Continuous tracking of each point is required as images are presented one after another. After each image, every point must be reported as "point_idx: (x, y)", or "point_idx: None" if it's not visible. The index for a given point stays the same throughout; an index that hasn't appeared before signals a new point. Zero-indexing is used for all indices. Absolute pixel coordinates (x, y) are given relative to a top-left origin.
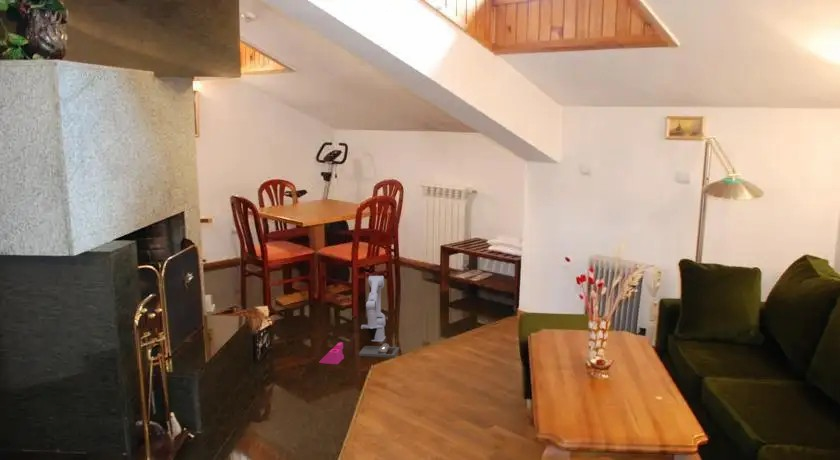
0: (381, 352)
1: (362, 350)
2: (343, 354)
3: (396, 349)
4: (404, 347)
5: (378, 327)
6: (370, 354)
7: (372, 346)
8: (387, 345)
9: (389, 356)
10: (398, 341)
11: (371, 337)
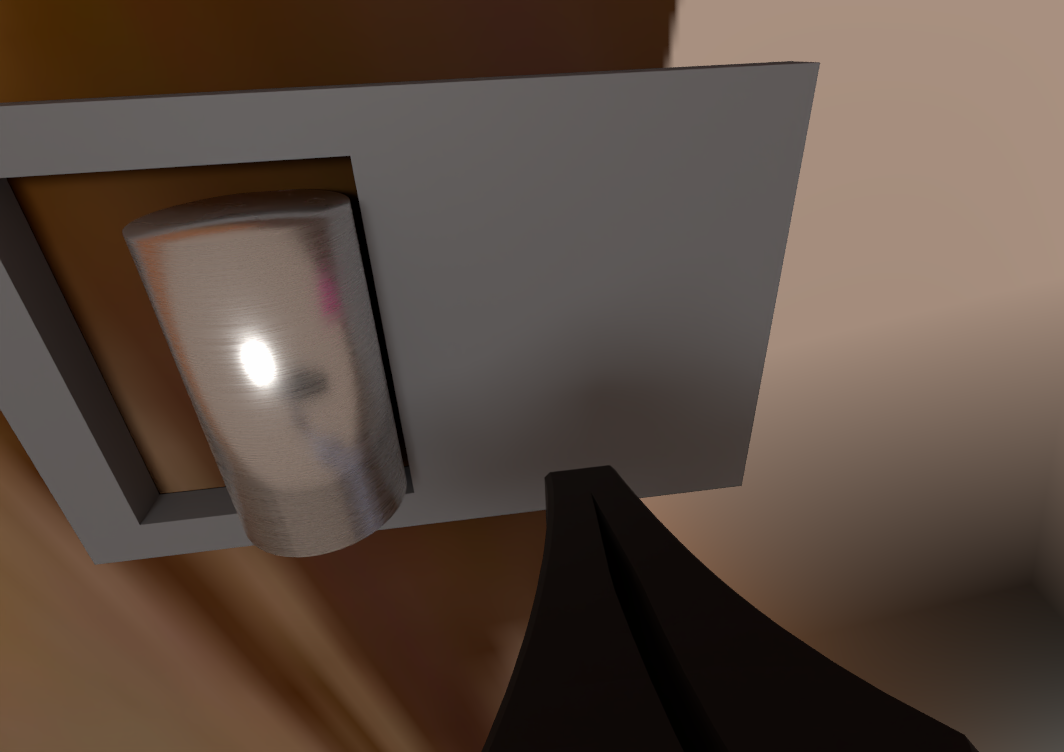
0: (269, 208)
1: (753, 271)
2: None
3: (67, 465)
4: (90, 611)
5: None
6: (520, 78)
7: None
8: (232, 490)
9: (5, 103)
10: (315, 731)
11: (637, 515)
